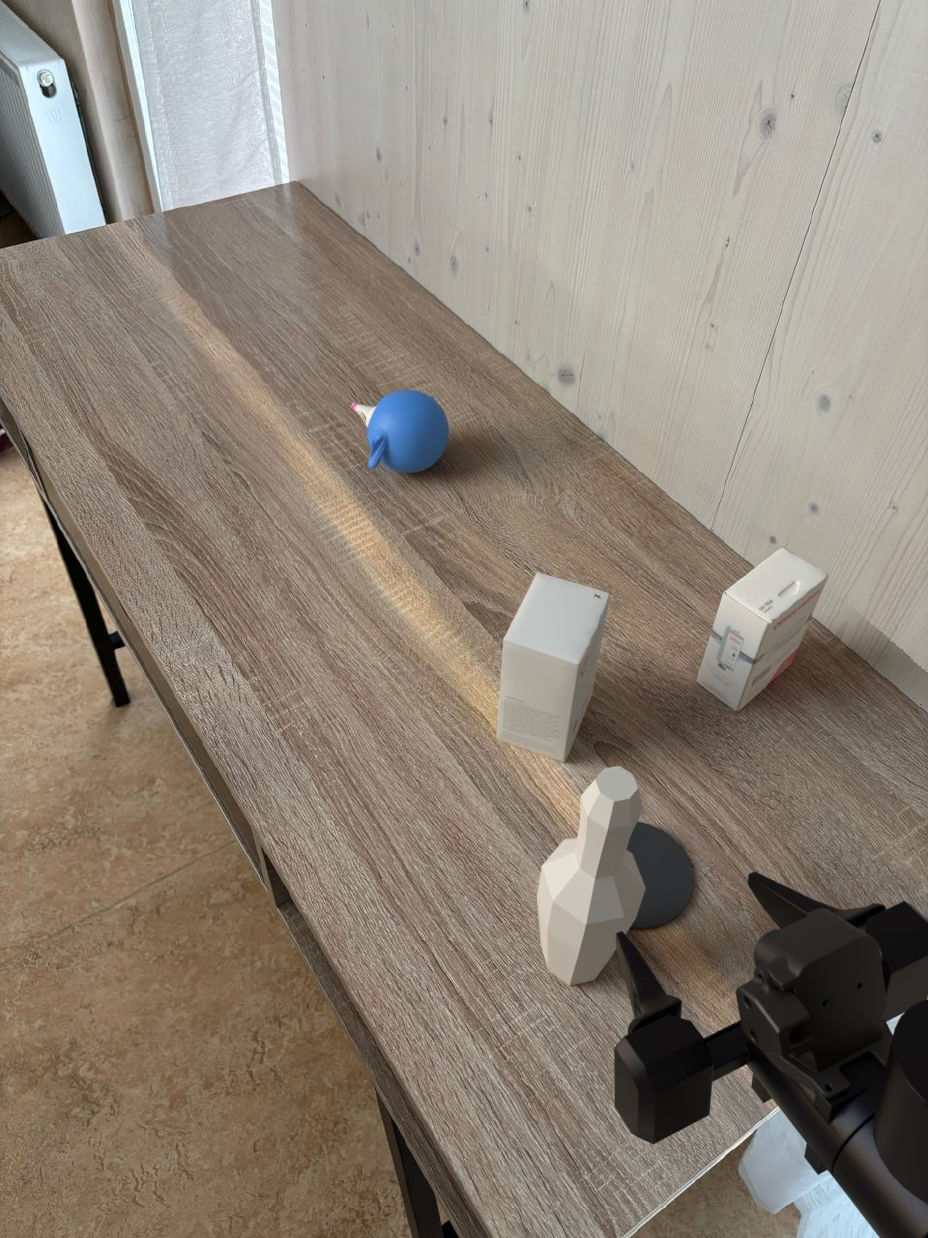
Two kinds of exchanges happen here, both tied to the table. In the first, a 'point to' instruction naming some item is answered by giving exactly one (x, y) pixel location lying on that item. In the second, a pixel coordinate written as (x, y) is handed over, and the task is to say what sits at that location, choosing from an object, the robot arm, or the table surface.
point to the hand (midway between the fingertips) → (685, 906)
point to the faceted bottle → (592, 881)
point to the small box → (550, 665)
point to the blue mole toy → (405, 431)
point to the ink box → (760, 627)
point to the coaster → (660, 876)
